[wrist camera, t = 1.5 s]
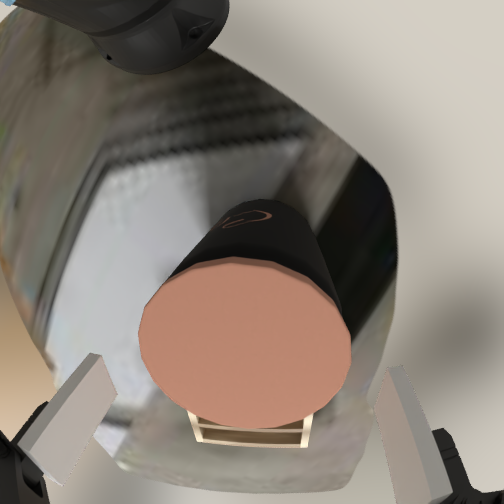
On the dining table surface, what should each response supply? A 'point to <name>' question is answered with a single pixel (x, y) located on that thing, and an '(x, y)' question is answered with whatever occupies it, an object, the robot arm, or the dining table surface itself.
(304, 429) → the walled box
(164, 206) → the dining table surface
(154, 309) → the coffee jar
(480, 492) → the robot arm
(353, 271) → the dining table surface
